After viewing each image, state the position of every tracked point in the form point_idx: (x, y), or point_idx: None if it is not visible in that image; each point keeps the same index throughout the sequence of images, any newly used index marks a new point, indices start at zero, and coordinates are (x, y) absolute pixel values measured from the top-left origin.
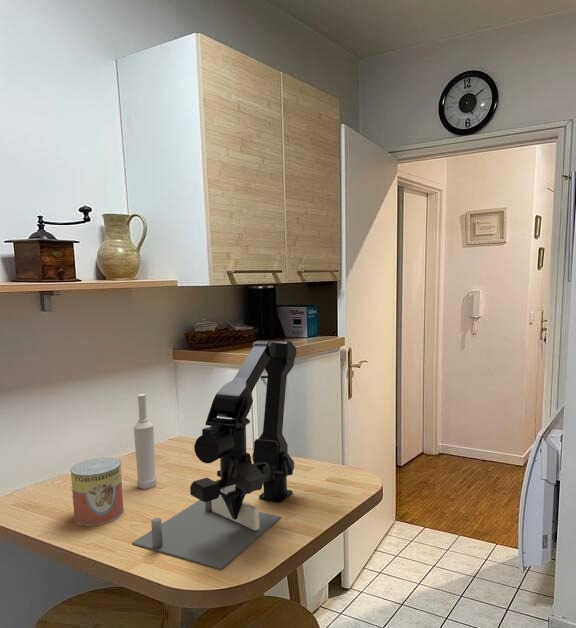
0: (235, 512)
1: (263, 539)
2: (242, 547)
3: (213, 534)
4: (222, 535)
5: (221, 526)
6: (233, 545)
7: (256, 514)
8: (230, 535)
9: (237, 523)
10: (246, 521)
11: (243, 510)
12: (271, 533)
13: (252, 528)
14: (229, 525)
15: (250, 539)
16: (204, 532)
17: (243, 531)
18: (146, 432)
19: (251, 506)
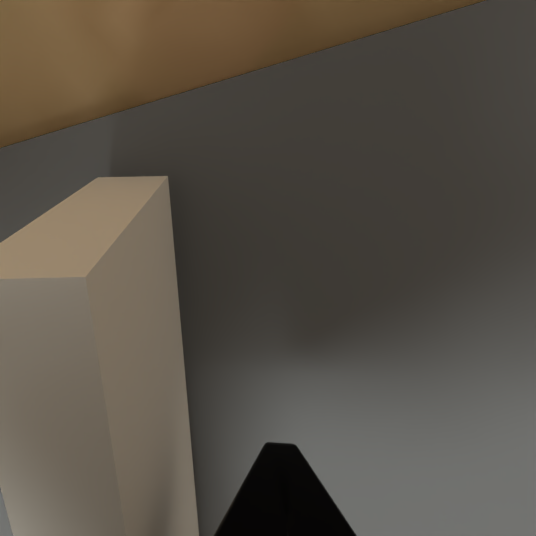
0: (311, 512)
1: (178, 4)
2: (508, 22)
3: (467, 449)
4: (430, 383)
5: None
6: (528, 145)
7: (72, 234)
8: (387, 328)
9: None
10: (171, 351)
11: (152, 490)
12: (14, 38)
13: (170, 230)
14: None
15: (314, 96)
16: (481, 521)
17: (245, 293)
18: None
19: (40, 437)
